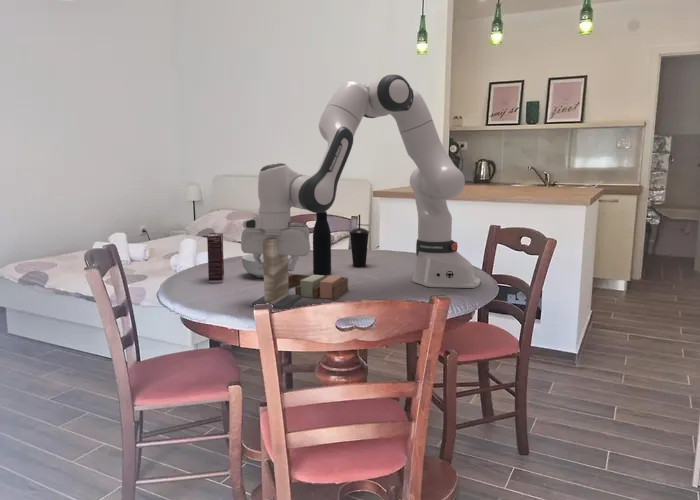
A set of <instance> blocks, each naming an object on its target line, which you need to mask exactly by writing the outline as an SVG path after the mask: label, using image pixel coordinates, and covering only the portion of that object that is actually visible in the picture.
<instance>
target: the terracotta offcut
mask: <svg viewBox="0 0 700 500" xmlns="http://www.w3.org/2000/svg"><path fill="white" fill-rule="evenodd" d="M327 276H328V277H327V278H325V279H323V280H322V281H320V297H319V298H321V299H332V287H333V286H334V285H335V284H337V283H338V282H340V281H341V280H342V277H343V276H342V275H327Z"/></svg>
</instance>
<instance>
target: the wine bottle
mask: <svg viewBox="0 0 700 500" xmlns="http://www.w3.org/2000/svg"><path fill="white" fill-rule="evenodd" d="M315 217H316V219H315V223H314V227H313V230H312V231H313V233H312V269H313V270H312V272H313V273H312V275H323V276H331V275H332V232H331V228H330V224H329V222H328V212H327V210H326V211H325V212H322V213H315Z"/></svg>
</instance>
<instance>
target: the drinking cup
mask: <svg viewBox="0 0 700 500" xmlns="http://www.w3.org/2000/svg"><path fill="white" fill-rule="evenodd" d="M348 233H349V234H350V236H349V237H350V247H351V257H352V266H353V267H354V268H366V266H367V256H368V246H369V245H368V243H369V234H370V230H367V229H366V228H363V227H361V214H358V227H356V228H353V229H351V230H349V232H348Z"/></svg>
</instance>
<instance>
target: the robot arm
mask: <svg viewBox="0 0 700 500" xmlns="http://www.w3.org/2000/svg"><path fill="white" fill-rule="evenodd" d="M388 115H391V117H392V118H393V119H394V120H395V123H396V125H397V130H398V131H399V134H400V137H401V139H402V143H403V145H404V148H405V151H406V154H407V155H408V156H409V158H410V159H412V161H413V162H414V164H415V165H416V167H417V168H414V170H413V171H412V172H411V173H410V176H409V185H410V188H411V189H412V191H413V195H414V200H415V204H416V211H417V212H416V213H417V239H416V242H415V254H416V261H415V262H416V263H415V268H414V272H413V273H414V274H413V276H412V279H411V280H412V282H413V283H416V284H419V285H422V286H424V287H427V288H428V287H429V288H453V289H454V288H458V289H459V288H462V289H463V288H465V289H474V288H477V287H480V285H481V279H480V278H479V277H478V276H475V272H474V267H473V264H472V263H471V261H469V260H468V259H466V257H465V256H463V255H461V253H459V252H458V241H454V240H453V239H452V231H453V230H452V225H453V217H452V214H451V212H450V211H449V208H448V207H449V206H448V204H447V200H450V199H453V198H455V197H458V196H459V195H460V194H462V192H463V191H464V189H465V185H466V179H465V175H464V174H463V172H462V171H461V169H459V168H458V167H457V166H456V165H455V163H454V162H453V160H452V159H451V157H450V156H449V154H448V152H447V151H446V149H445V147H444V146H443V143H442V142H441V139H440V137H439V134H438V131H437V128H436V126H435V123H434V120H433V118H432V114H431V112H430V110H429V108H428V106H427V103H426V102H425V99H424V98H423V97H422V94H421V93H420V92H418V91H417V90H415V89H414V90H413V89H412V87H411V85H410V83H409V82H408V81H407V79H406V78H404V77H403V76H401V75H400V74H399V75H398V74H387V75H385V76H382V77H378V78H375V79H373V80H372V81H371V82H369V83H367V84H362V83H361V82H358V81H356V80H347V81H344V82H342V83H341V85H340V86H339V87H338V89H337V90H336V91H335V92H334V94H333V95H332V96H331V98H330V100H329V101H328V103H327V105H326V106H325V108H324V110H323V112H322V114H321V116H320V120H319V123H318V129H319V133H320V135H321V137H322V138H323V139H324V141H326V142H327V148H326V152H325V154H324V156H323V158H322V160H321V163H320V165H319V167H318V169H317V171H316V172H315V173H313V174H312V175H306V174H305V175H303V174H302V173H299V172H297V171H295V170H294V169H292V168H290V167H289V166H288V165H287V163H282V162H281V163H279V162H277V163H272V164H267V165H264V166H263V167H262V168H261V169H260V170H259V173H258V180H257V181H258V182H257V184H258V185H257V196H258V200H259V208H258V215H257V216H254V217H252V218H248V219H246V220H244V221H242V227H243V228H244V229H243V230H242V232H241V235H240V236H241V238H240V247H241V249H240V250H241V252H243V253H244V254H253V257H254V259H255V261H256V262H257V268H258V269H264V264H263V262H262V261H261V259H260V256H261V254H263V239H266V238H278V255H288V256H290V257H291V262H290V264H289V265H288V272H294V271H296V270H295V269H296V267H295V266H296V263H297V261H298V260H299V257H306V256H308V255H309V254H310V252H311V245H310V244H311V243H310V227H309V225H307V224H305V223H304V222H291V208H292V207H293V208H296V209H300V210H306V211H309V212H311V213H315V214H316V213H322V212H325V211H326V212H327V211H328V210H329V209H330V208H331V207H332V206H333V204H334V202H335V200H336V196H337V190H338V189H337V188H338V183H339V181H340V178H341V175H342V173H343V170H344V168H345V166H346V164H347V161H348V159H349V158H348V157H349V156H350V153H351V150H352V147H353V145H354V136H355V134H356V131H357V130H358V127H359V125H360V124H361V122H362V120H363V118H364V117H365V118H367V119H368V118H369V119H377V118H381V117H385V116H388Z"/></svg>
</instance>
